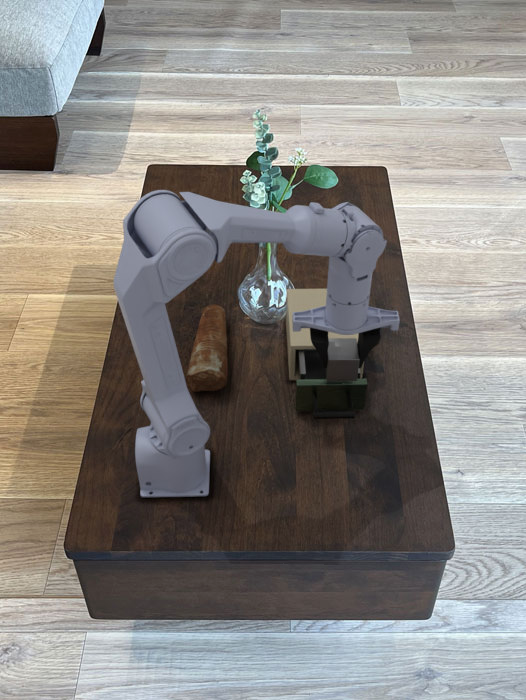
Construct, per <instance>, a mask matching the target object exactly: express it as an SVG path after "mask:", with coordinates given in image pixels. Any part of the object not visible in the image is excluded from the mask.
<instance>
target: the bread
mask: <svg viewBox="0 0 526 700" xmlns="http://www.w3.org/2000/svg"><path fill="white" fill-rule="evenodd" d="M200 315H201V316H200V320H199V323H198V327H197V330H196V334H195V339H194V341H193V345H192V350H191V354H190V358H189V363H188V368H187V373H186V377H185V381H186V385H187V389H188V390H190V391H192V392H195V393H198V392H216V391H220V390H222V389H224V387H225V386H227V382H228V377H229V371H228V339H227V338H228V337H227V322H226V321H227V320H226V318H227V317H226V311H225V308H224V307H222V306H221V305H219V304H210V305H208V306H206V307H204V308H203V309H202V312H201V314H200Z"/></svg>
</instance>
